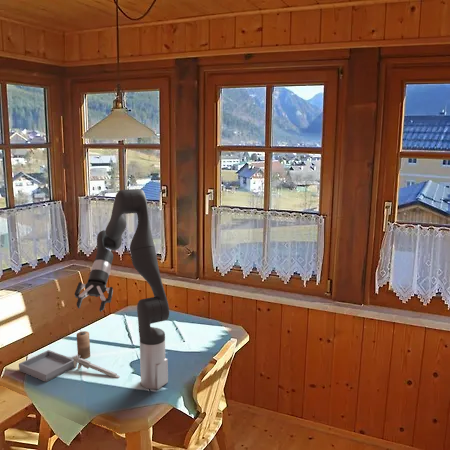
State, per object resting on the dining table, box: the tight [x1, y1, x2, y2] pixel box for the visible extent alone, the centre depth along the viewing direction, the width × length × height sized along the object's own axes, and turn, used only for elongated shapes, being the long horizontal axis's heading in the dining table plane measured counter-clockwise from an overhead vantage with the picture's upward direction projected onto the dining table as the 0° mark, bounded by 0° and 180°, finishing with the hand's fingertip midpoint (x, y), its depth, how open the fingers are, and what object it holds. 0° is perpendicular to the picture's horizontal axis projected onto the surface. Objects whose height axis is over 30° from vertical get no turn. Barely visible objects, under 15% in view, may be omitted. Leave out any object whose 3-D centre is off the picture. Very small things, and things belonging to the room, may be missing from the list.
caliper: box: [73, 353, 120, 379], centre depth 185 cm, size 20×1×6 cm, turn 70°
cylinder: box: [76, 330, 91, 360], centre depth 198 cm, size 5×5×10 cm
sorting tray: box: [18, 349, 74, 383], centre depth 188 cm, size 16×14×3 cm
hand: (89, 309), depth 186 cm, fingers open, 8 cm apart
